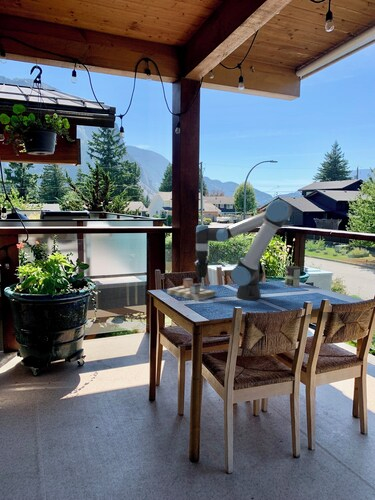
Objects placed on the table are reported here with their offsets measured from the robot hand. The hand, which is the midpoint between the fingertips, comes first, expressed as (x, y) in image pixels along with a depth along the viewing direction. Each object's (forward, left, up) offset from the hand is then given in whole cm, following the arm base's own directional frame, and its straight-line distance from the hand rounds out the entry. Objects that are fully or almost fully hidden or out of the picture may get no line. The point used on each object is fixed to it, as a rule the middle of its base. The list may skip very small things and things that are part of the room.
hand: (201, 287), depth 228 cm
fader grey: (0, +6, -2) cm, 6 cm away
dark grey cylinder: (-5, -51, -6) cm, 52 cm away
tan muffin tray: (+7, +1, -6) cm, 9 cm away
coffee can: (-28, -73, -6) cm, 79 cm away
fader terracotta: (+14, -4, -2) cm, 15 cm away
